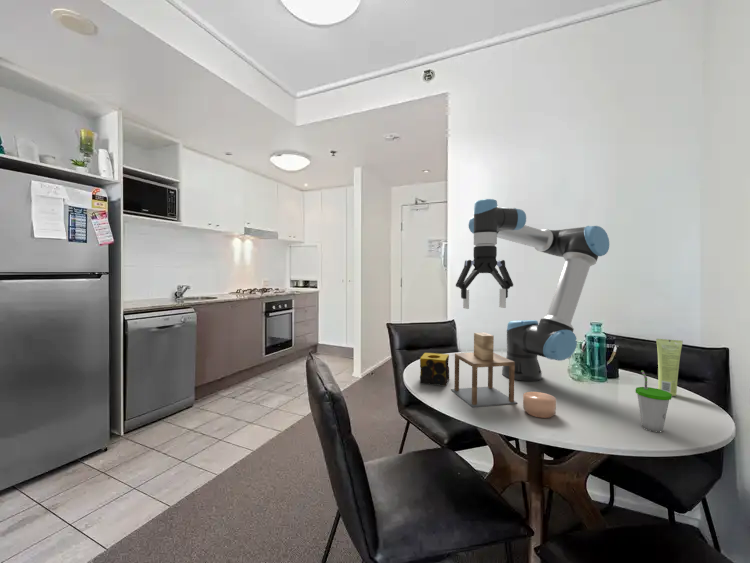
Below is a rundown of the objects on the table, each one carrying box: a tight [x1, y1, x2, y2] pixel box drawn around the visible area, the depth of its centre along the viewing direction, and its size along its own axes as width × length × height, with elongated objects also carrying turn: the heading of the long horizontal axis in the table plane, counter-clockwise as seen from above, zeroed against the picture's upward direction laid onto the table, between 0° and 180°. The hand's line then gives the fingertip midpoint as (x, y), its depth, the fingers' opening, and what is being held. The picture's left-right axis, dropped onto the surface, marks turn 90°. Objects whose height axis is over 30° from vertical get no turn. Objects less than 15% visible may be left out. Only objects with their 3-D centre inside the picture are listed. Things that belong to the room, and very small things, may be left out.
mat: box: [450, 386, 518, 408], centre depth 118 cm, size 16×16×1 cm
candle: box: [419, 352, 450, 387], centre depth 135 cm, size 10×10×10 cm
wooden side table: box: [453, 332, 515, 405], centre depth 118 cm, size 14×14×21 cm
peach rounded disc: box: [522, 391, 557, 419], centre depth 105 cm, size 9×9×5 cm
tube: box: [655, 338, 684, 397], centre depth 122 cm, size 6×5×20 cm
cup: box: [635, 370, 673, 433], centre depth 95 cm, size 8×8×15 cm
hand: (484, 308), depth 118 cm, fingers open, 13 cm apart
